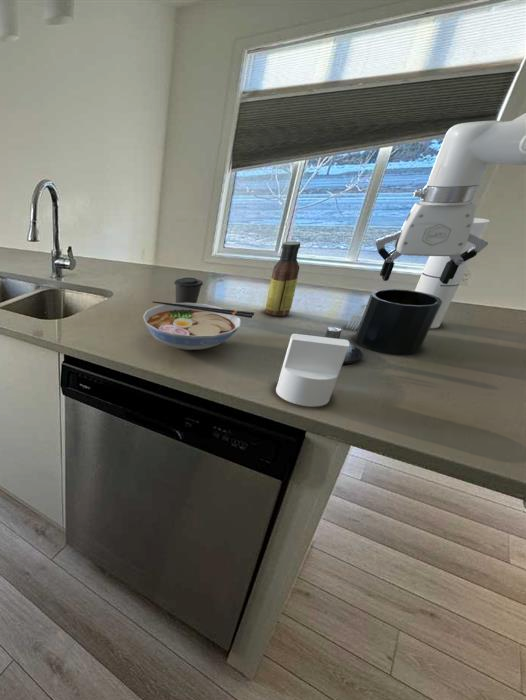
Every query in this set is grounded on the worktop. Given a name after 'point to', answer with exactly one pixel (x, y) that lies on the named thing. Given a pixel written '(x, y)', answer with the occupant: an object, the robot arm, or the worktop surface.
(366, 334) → the cup
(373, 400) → the worktop surface
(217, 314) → the ramen bowl
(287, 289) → the sauce bottle
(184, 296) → the coffee cup
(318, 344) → the base with upright slab
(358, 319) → the fork
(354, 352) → the tin lid
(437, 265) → the cylindrical container
